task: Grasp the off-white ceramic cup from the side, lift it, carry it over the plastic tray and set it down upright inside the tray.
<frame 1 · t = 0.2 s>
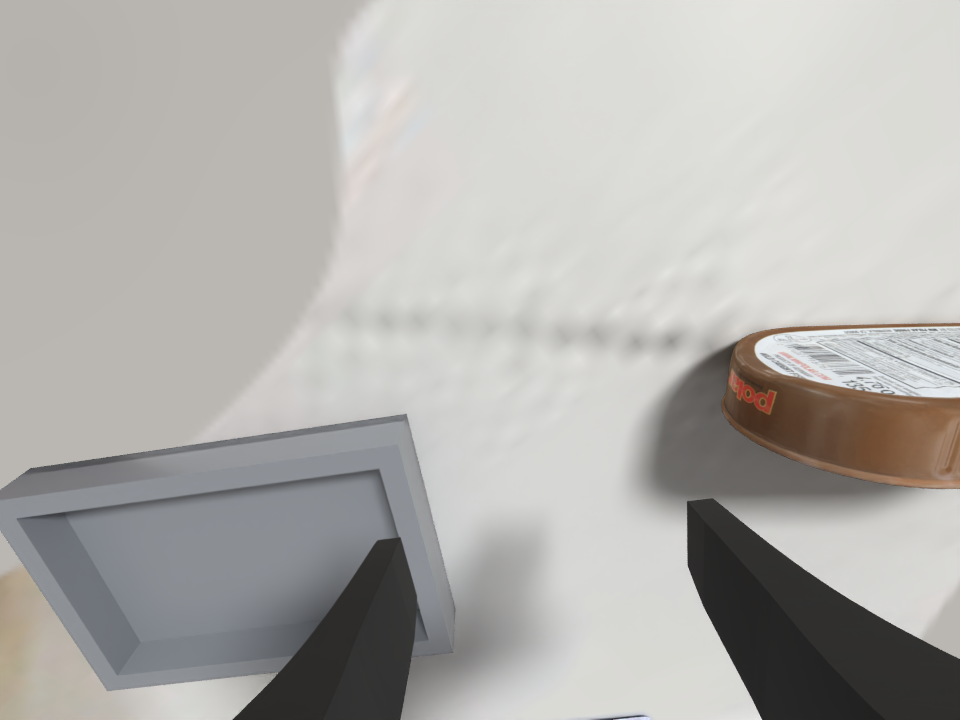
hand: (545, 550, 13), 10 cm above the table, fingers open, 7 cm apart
tin: (868, 343, 22), on the table
tray: (256, 543, 26), on the table
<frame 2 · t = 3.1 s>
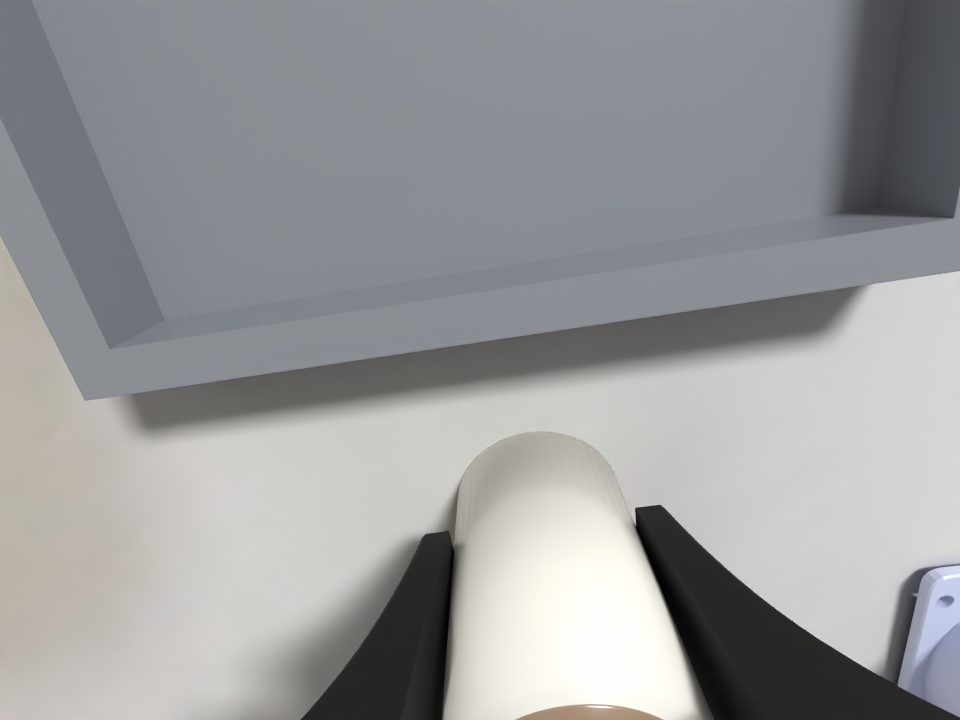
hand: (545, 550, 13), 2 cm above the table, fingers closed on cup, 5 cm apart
cup: (538, 501, 15), on the table, touching gripper
tray: (467, 9, 10), on the table
when the fingers open (4 cm above the table, at t = 6.9 s): cup drops 1 cm, resting on tray.
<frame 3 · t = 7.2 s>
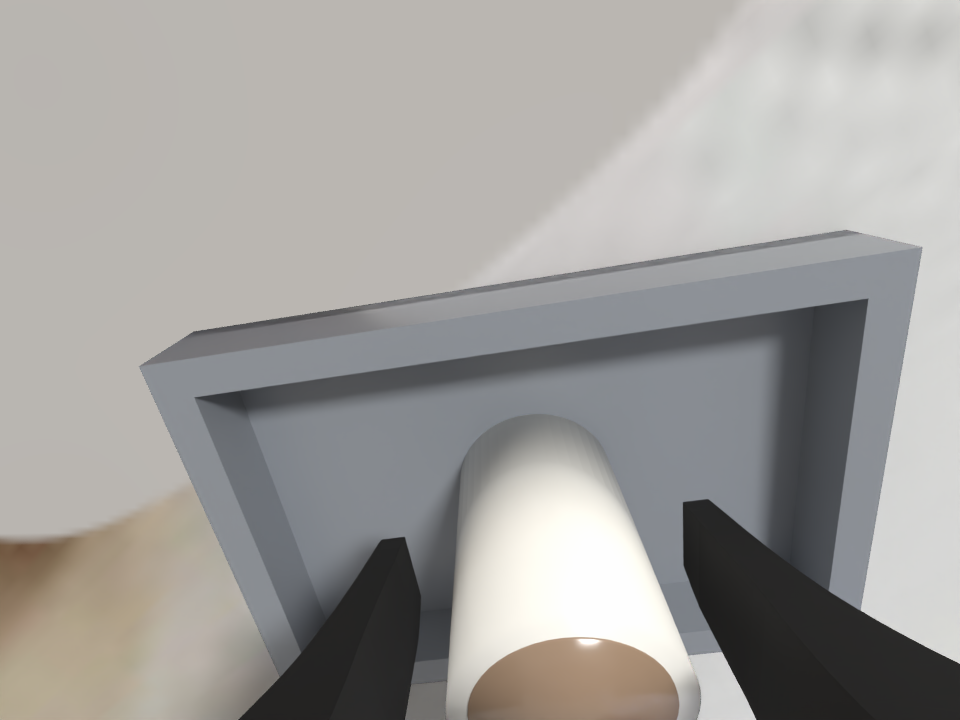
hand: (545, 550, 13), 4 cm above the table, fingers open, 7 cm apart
cup: (535, 479, 16), point 1 cm above the table, touching tray
tray: (532, 465, 16), on the table
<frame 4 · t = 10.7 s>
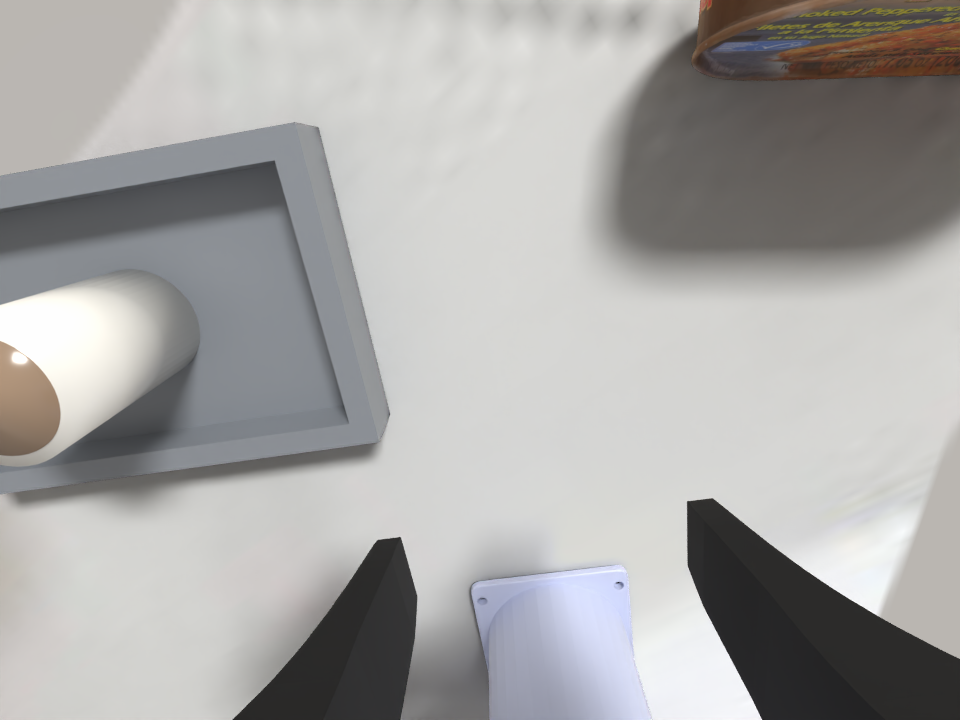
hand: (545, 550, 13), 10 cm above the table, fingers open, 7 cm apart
cup: (143, 324, 21), point 1 cm above the table, touching tray
tin: (873, 28, 18), on the table
tray: (151, 317, 22), on the table
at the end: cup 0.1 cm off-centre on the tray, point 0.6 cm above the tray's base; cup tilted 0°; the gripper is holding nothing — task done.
